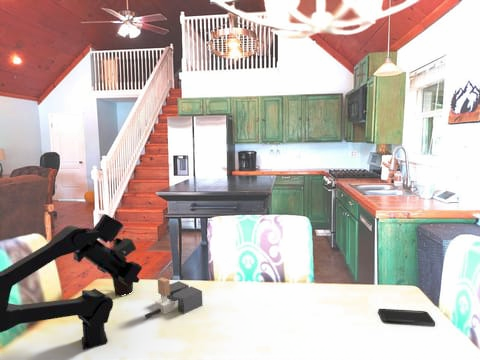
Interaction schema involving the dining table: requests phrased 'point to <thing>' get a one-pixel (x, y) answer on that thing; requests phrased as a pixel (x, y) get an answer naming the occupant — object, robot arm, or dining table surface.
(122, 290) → the coffee mug
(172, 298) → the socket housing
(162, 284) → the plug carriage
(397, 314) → the phone
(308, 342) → the dining table surface
